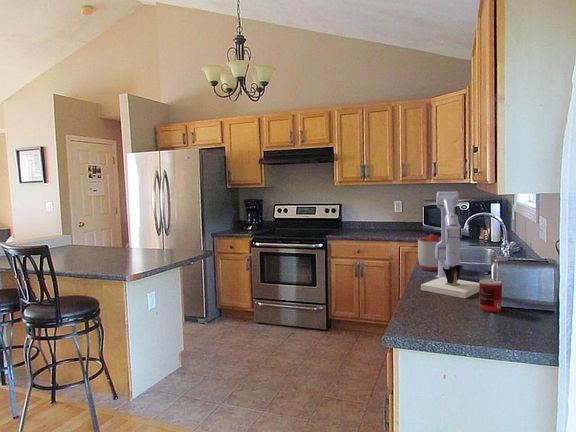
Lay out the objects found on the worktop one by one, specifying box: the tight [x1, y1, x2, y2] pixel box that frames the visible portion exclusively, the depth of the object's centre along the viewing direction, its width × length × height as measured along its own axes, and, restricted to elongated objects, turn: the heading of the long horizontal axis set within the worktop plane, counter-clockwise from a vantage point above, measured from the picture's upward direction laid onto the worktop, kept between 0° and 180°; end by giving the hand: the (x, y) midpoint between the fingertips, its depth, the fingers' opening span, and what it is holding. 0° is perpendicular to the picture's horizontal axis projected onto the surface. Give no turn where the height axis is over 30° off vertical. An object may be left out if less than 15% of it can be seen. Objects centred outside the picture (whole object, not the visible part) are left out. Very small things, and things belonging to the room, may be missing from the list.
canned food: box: [478, 278, 503, 313], centre depth 153 cm, size 8×8×11 cm
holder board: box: [420, 277, 479, 299], centre depth 182 cm, size 20×20×2 cm
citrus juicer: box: [417, 233, 441, 272], centre depth 226 cm, size 16×17×20 cm
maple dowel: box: [447, 272, 457, 286], centre depth 182 cm, size 4×4×8 cm
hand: (452, 282), depth 182 cm, fingers open, 5 cm apart
